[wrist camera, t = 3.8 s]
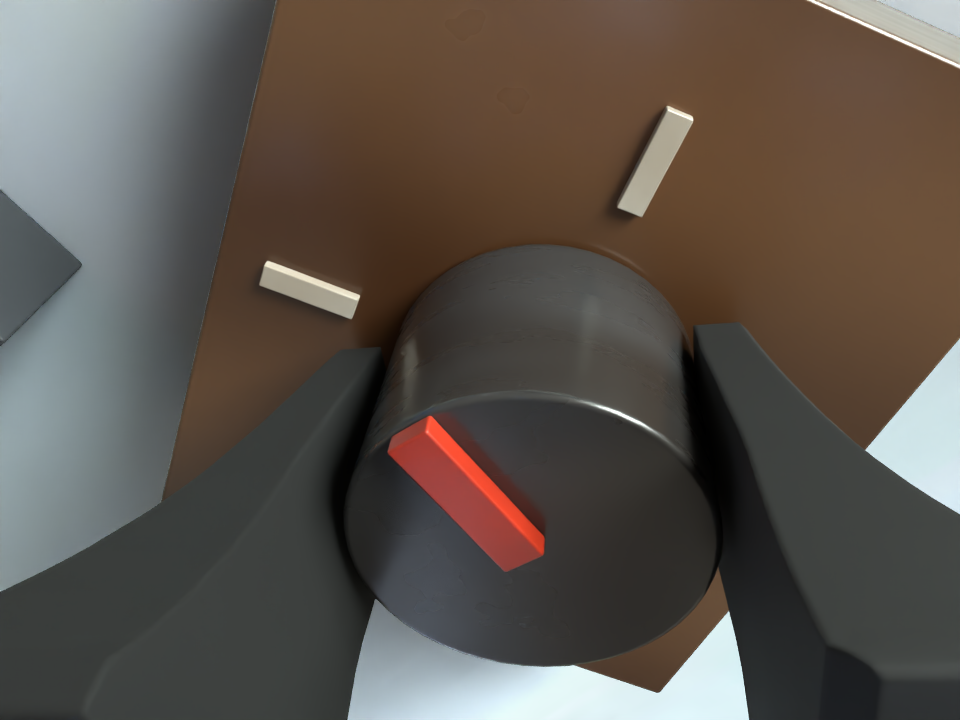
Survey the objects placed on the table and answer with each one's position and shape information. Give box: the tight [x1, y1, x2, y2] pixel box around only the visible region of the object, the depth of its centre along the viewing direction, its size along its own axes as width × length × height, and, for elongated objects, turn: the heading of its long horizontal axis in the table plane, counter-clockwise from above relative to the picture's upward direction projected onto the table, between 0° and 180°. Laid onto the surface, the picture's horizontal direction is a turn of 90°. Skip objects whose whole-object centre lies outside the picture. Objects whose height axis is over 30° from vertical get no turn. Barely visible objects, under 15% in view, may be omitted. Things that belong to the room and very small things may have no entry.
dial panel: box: [161, 0, 960, 693], centre depth 14 cm, size 12×10×3 cm
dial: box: [343, 244, 723, 667], centre depth 12 cm, size 4×4×4 cm
